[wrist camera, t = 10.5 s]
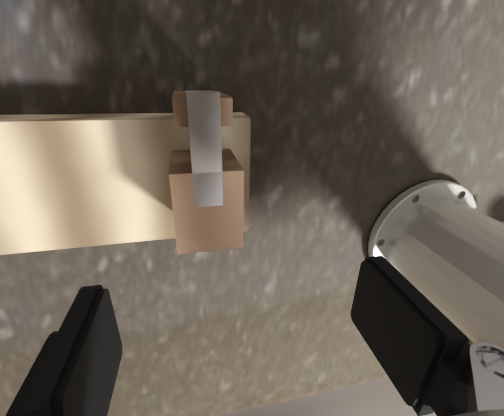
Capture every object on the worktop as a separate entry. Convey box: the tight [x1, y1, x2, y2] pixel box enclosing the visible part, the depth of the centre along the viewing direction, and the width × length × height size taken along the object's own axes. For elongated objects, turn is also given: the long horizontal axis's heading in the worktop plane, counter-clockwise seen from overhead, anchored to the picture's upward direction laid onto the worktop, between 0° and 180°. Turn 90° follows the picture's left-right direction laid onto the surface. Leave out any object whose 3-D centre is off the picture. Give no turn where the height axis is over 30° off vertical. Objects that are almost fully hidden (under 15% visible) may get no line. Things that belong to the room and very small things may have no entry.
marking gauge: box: [169, 91, 244, 254], centre depth 18 cm, size 4×9×6 cm, turn 0°
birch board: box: [0, 112, 251, 255], centre depth 21 cm, size 24×9×3 cm, turn 89°
